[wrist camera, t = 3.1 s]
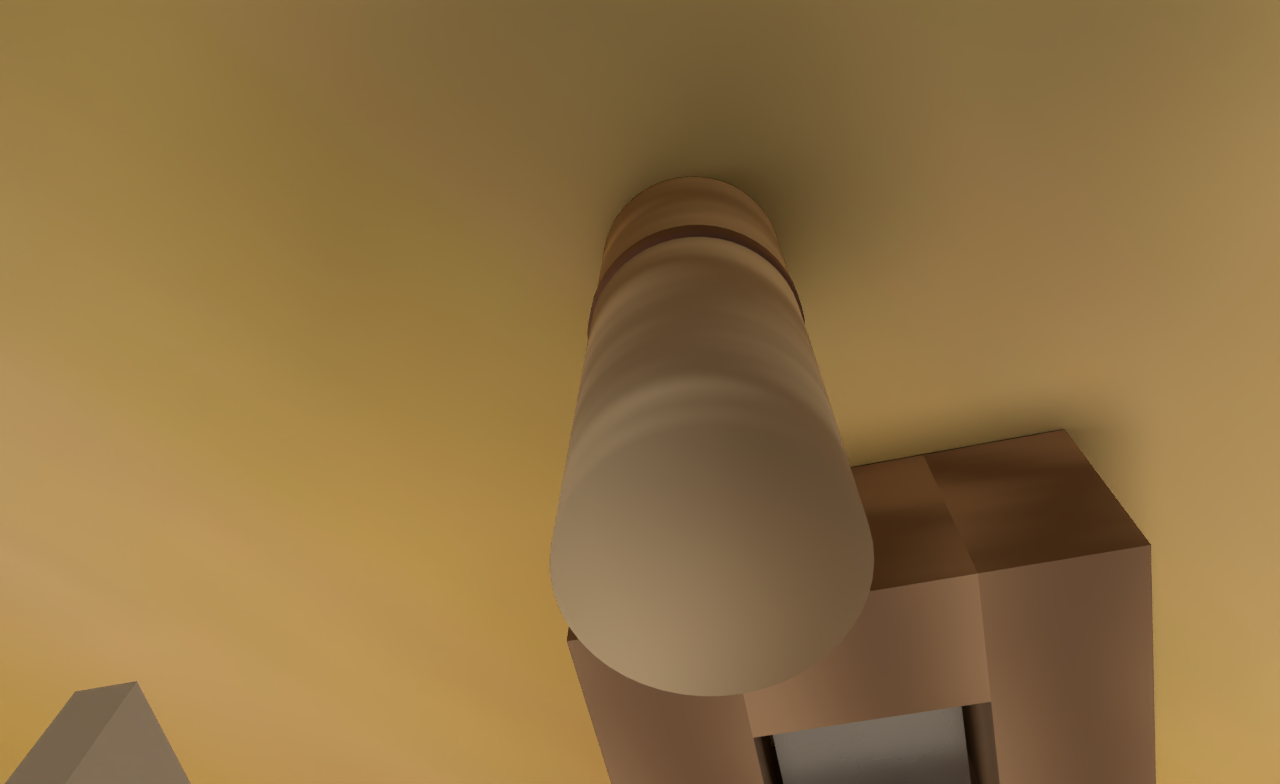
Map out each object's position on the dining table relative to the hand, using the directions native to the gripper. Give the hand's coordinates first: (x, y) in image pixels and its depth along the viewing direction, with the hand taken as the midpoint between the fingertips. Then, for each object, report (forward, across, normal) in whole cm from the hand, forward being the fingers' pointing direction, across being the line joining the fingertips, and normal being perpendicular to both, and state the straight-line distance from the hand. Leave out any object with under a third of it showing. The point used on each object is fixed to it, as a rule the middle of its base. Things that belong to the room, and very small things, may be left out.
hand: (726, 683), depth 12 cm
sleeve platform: (+12, +2, -12) cm, 16 cm away
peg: (+14, 0, 0) cm, 14 cm away
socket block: (+14, +2, -12) cm, 18 cm away
